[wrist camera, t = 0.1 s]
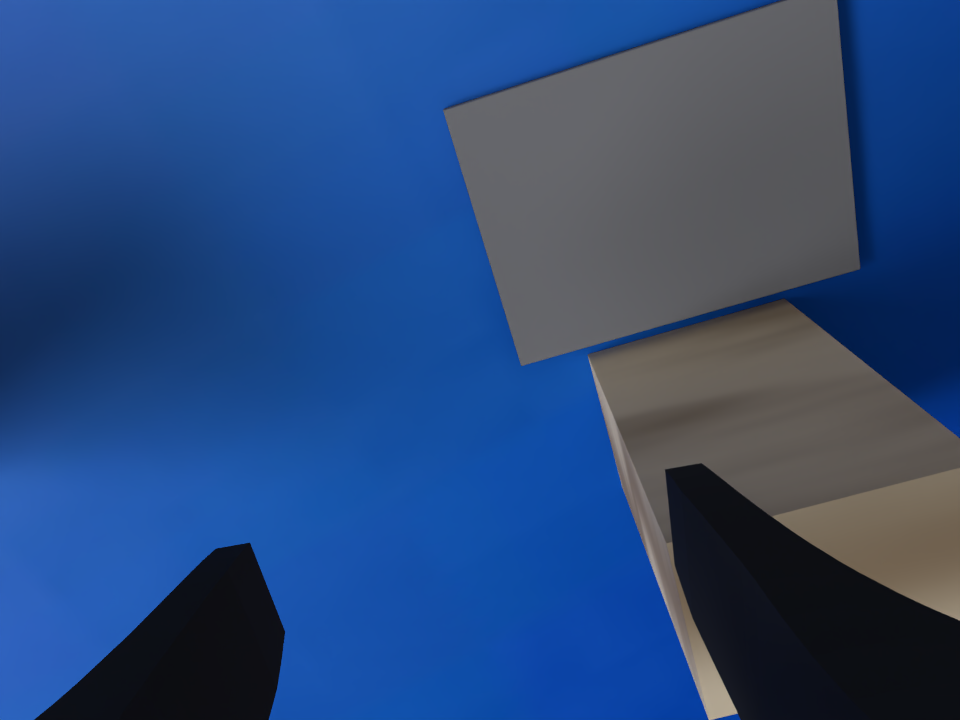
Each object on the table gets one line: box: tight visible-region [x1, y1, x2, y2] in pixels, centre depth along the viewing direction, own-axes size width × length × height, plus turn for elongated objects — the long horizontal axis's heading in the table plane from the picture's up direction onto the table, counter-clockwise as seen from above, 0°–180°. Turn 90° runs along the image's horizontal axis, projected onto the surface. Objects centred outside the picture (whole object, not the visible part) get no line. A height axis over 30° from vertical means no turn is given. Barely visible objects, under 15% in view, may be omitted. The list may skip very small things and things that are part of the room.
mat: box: [443, 0, 860, 366], centre depth 20 cm, size 8×10×1 cm
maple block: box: [588, 299, 960, 720], centre depth 19 cm, size 5×6×9 cm
